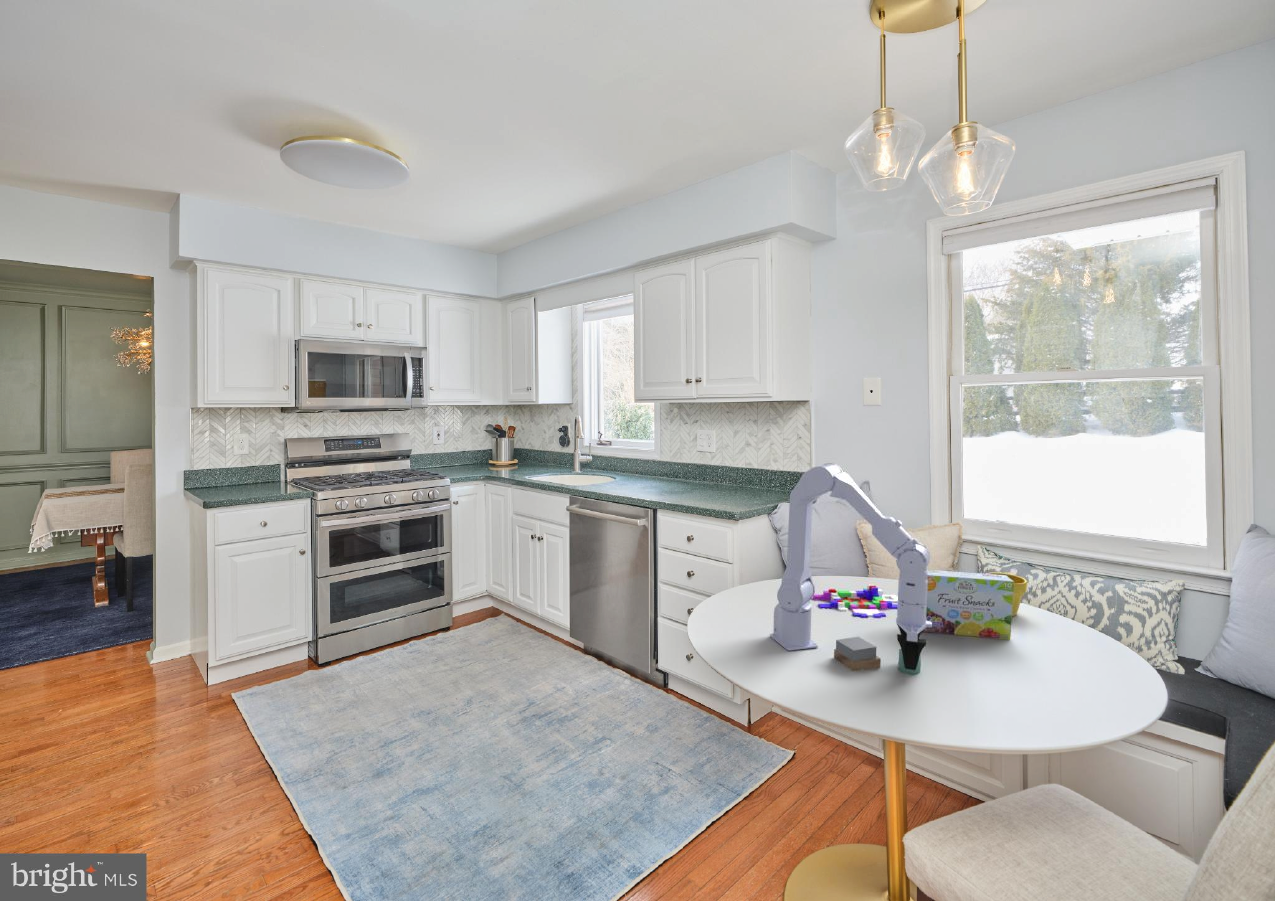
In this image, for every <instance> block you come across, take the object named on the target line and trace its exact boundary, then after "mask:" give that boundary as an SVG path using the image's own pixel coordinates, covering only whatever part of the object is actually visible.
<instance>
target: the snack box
mask: <svg viewBox="0 0 1275 901" xmlns="http://www.w3.org/2000/svg"><path fill="white" fill-rule="evenodd" d="M927 574H928V576H927V581H928V586H927V609H926V621H930V622H932V627H926V628H925V629H923V630H922V632H924V633H925V632H926V633H936V634H946V635H957V636H966V637H967V636H968V637H976V638H977V637H978V638H987V639H995V640H996V639H998V640H1006V641H1007V640H1011V637H1012V636H1011V633H1012V620H1013V619H1012V618H1013V616H1012V609H1013V595H1014V581H1013V580H1011V579H1010V578H1009V577H1008V576H1006V575H994V574H986V573H978V572H966V571H965V572H963V571H950V570H949V571H948V570H936V569H935V570H934V569H927Z"/></svg>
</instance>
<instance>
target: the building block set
mask: <svg viewBox="0 0 1275 901" xmlns="http://www.w3.org/2000/svg"><path fill="white" fill-rule="evenodd" d="M822 592H823V593H822V594H814V595H813V597H812V599H813V600H814V601H829V603H818V604H817V605H818V607H819V609H822V608H825V609H827V608H829V609H831V610H832V609H837V611H840V612H848V610H849V609H850V610H851V611H852V615H853V617H855V618H856V617H858V618H860V617H861V618H863V619H864V618H865V619H869V617H870V618H871V617H873V618H875V619H881V618H886V617H887V614H886V613H885V612H880V610H888V609H891V610H892V609H893V610H895V609H896V610H897V607H898V595H896V594H884V591H883V590H882V589H880V588H878V587H877V586H876V585H875V584H868V585H866V587H863V589H862V590H836V588H828V590H823V591H822ZM889 598H890V599H889ZM854 601H855V602H854ZM856 601H859V602H856ZM894 603H895V604H894ZM878 609H880V610H878ZM822 610H823V609H822Z"/></svg>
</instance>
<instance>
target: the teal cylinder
mask: <svg viewBox="0 0 1275 901" xmlns="http://www.w3.org/2000/svg"><path fill="white" fill-rule="evenodd" d="M921 663H922V652H921V653H920V656H919V660H918V664H917V668H916V670H910V669H905V667H904V662H903V654H902V650H901V648H899V649H898V666H897V668H898V670H899V671H900V672H902V673H905V674H910V675H918V674H920V673H921V665H922V664H921Z"/></svg>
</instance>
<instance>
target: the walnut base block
mask: <svg viewBox="0 0 1275 901" xmlns="http://www.w3.org/2000/svg"><path fill="white" fill-rule="evenodd" d="M833 658H834V659H837V661H838V662H839V661H840V662H839V663H841V664H842V665H843V664H844V665H843V666H845V667H846V666H847V667H846V668H848V670H850V669H851V670H850V671H852V672H854V671H855V670H856V671H862V670H861V669H864V670H871V669H878V668H879V669H880V668H881V663H882V662H881V657H879V656H877V655H876V658H872V659H866V660H860V661H854V662H853V661H851V660H850V659H848V658H847V657H845V656H844V655H842V654H840V653H839V652H837V651H836V648H835V649H834V650H833Z"/></svg>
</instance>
